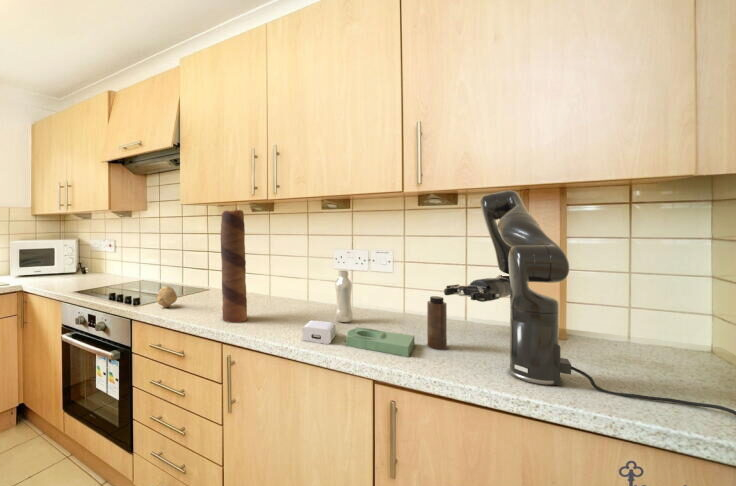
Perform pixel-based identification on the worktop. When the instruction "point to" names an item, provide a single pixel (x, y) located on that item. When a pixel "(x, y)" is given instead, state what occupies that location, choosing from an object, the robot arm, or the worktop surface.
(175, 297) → the natural sponge
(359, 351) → the worktop surface
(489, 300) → the robot arm
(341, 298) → the plastic bottle
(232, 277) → the wafer roll
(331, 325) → the charger
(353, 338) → the board
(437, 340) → the pepper mill
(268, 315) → the worktop surface
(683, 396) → the worktop surface
